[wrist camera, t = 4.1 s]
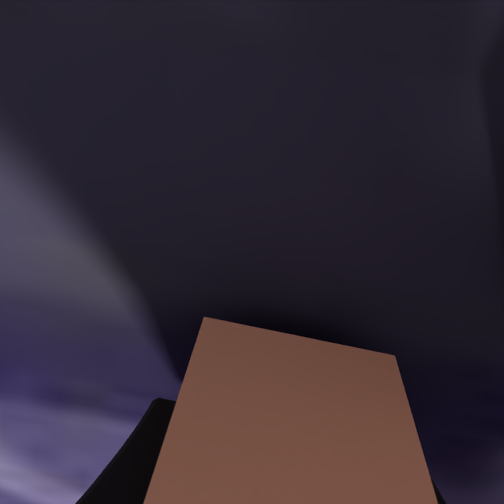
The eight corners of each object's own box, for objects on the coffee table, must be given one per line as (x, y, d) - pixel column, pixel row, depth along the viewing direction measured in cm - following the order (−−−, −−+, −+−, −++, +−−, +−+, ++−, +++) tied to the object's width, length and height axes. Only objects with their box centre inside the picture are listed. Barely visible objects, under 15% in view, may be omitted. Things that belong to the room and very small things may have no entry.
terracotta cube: (341, 477, 12) (366, 732, 8) (183, 444, 12) (119, 682, 8) (394, 355, 10) (469, 611, 6) (203, 316, 10) (130, 543, 6)
